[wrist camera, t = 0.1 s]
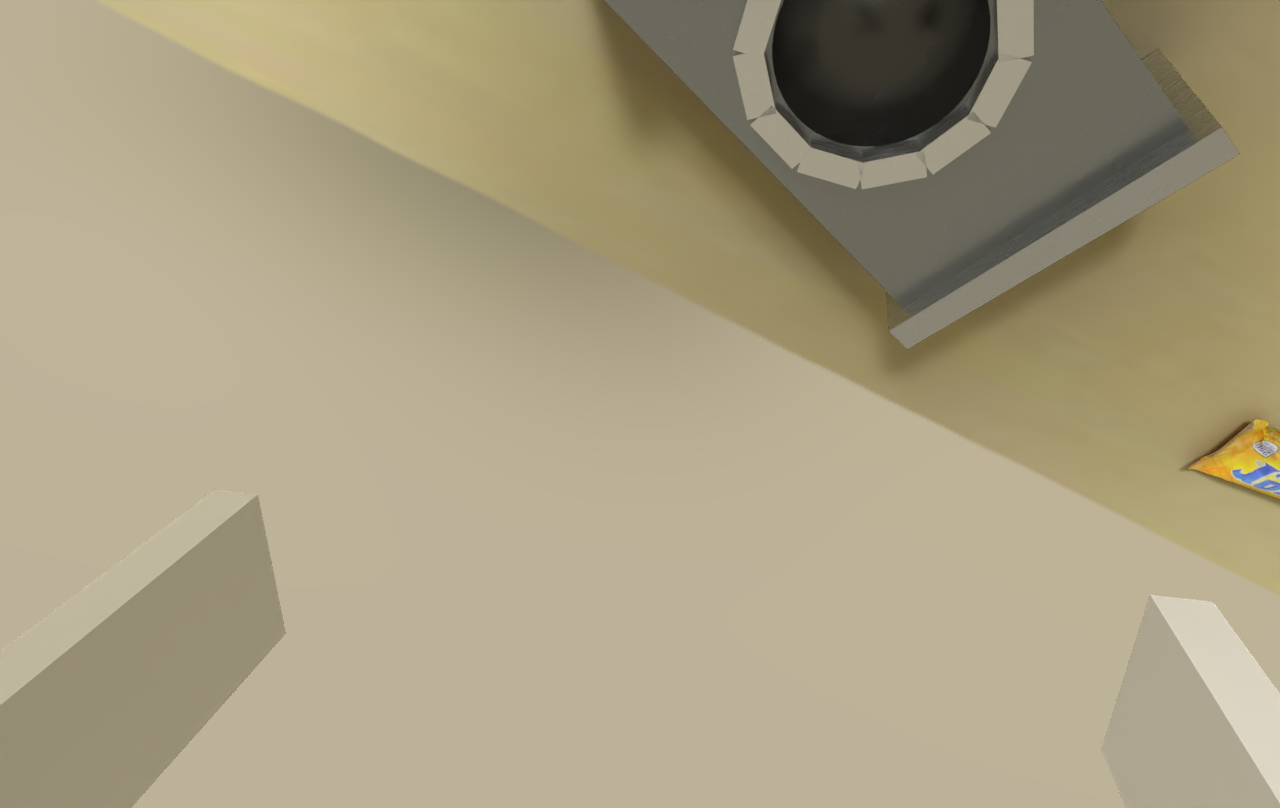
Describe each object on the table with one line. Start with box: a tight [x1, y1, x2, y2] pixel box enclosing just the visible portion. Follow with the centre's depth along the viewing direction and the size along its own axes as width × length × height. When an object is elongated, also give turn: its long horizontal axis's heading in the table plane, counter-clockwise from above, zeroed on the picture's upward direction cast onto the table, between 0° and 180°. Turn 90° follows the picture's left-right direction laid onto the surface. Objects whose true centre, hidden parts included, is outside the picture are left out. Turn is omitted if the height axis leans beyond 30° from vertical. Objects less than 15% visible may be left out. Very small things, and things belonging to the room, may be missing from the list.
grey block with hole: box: [604, 0, 1240, 349], centre depth 29 cm, size 12×20×7 cm, turn 47°
